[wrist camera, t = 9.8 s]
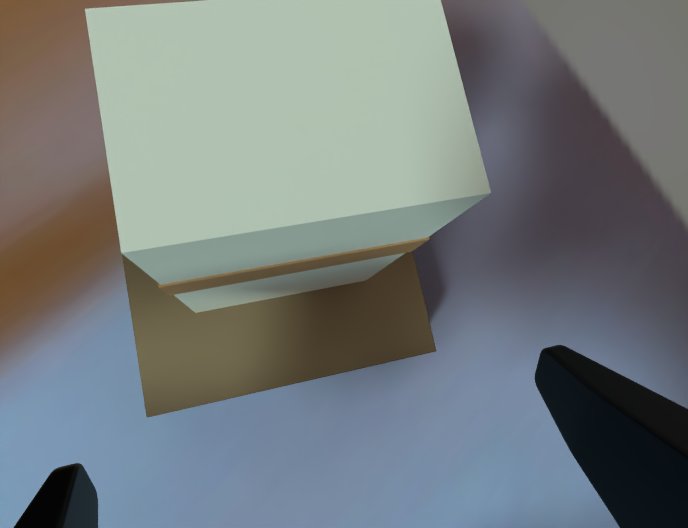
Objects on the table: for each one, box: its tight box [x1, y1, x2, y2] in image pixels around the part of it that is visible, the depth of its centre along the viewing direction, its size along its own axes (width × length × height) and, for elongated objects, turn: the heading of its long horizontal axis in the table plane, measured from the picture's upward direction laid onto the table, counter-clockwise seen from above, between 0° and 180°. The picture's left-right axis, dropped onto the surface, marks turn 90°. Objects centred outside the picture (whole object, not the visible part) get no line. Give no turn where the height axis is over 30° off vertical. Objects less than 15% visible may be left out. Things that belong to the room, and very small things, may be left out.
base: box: [122, 251, 436, 417], centre depth 20 cm, size 10×10×3 cm
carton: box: [85, 0, 491, 313], centre depth 13 cm, size 4×6×10 cm
